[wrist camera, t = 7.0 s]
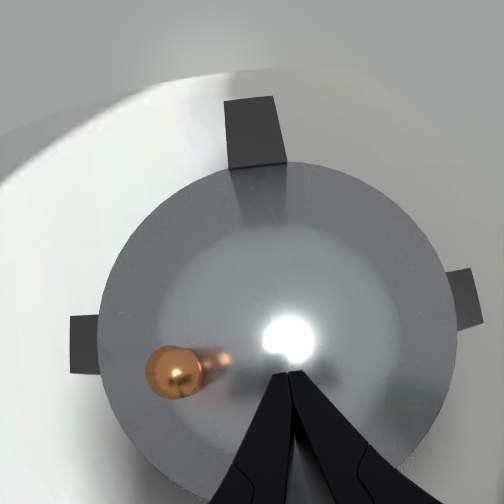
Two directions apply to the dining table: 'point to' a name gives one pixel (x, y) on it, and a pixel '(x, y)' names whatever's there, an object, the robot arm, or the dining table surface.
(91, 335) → the cooker pot
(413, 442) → the cooker lid
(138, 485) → the dining table surface
